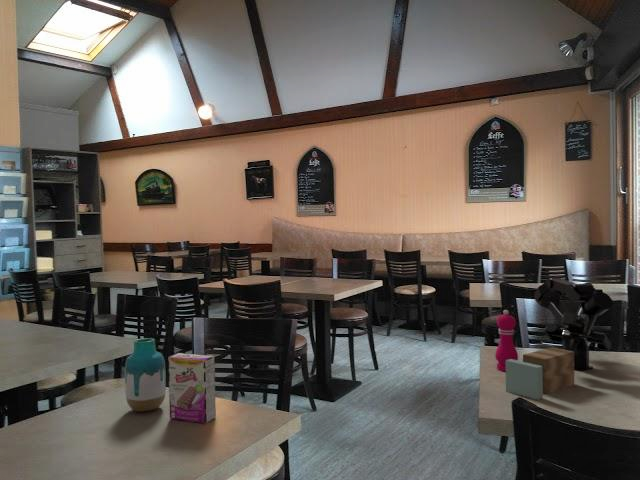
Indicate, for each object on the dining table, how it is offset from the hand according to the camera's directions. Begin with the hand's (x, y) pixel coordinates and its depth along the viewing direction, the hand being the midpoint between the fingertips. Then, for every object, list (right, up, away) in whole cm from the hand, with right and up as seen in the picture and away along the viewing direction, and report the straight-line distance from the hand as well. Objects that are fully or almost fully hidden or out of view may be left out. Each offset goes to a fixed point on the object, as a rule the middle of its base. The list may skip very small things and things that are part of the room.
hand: (566, 359), depth 159 cm
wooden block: (-8, -7, -5) cm, 11 cm away
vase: (-124, -10, -18) cm, 125 cm away
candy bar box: (-109, -10, -26) cm, 112 cm away
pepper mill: (-14, -7, +13) cm, 20 cm away
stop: (-18, -7, -12) cm, 23 cm away
